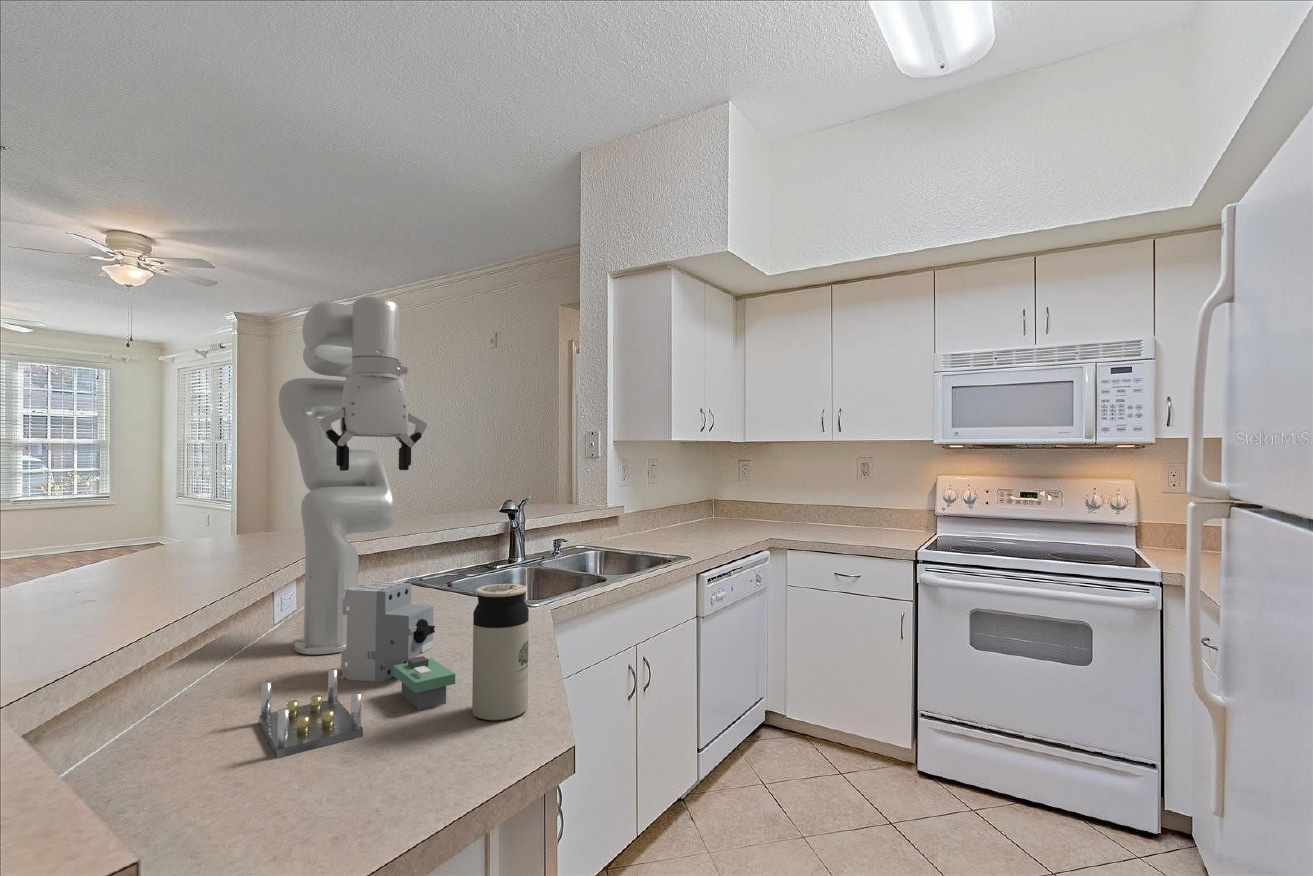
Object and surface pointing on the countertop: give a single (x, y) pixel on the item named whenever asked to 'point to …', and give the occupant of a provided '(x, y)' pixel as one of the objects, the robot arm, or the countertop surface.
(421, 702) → the block
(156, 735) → the countertop surface
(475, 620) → the travel mug
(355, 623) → the circuit breaker
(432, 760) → the countertop surface
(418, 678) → the board
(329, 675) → the chassis
